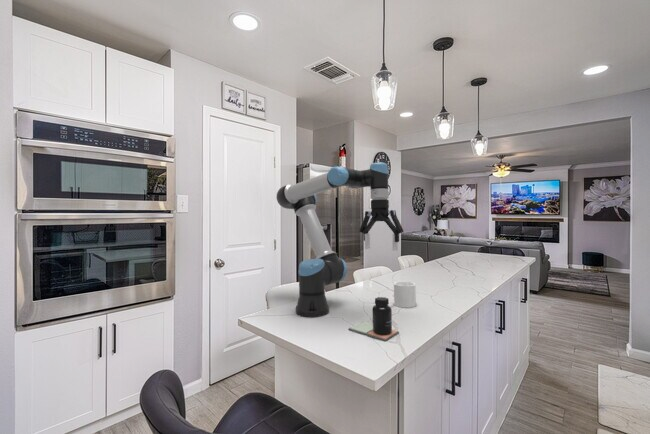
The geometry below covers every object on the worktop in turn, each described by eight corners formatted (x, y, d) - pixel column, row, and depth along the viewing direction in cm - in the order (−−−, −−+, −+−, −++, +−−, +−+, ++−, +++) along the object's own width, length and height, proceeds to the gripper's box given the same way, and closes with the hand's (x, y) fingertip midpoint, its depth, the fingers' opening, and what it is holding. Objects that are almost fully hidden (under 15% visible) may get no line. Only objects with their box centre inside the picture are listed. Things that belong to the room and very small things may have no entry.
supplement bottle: (392, 336, 101) (391, 301, 102) (372, 335, 103) (371, 300, 103) (391, 329, 108) (391, 296, 108) (373, 328, 110) (372, 295, 110)
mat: (348, 330, 110) (348, 328, 110) (363, 323, 117) (362, 321, 117) (385, 341, 99) (385, 339, 99) (399, 333, 106) (399, 330, 106)
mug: (411, 309, 133) (410, 287, 134) (390, 306, 140) (390, 284, 140) (420, 303, 143) (420, 282, 144) (401, 300, 150) (400, 279, 150)
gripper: (351, 200, 130) (352, 248, 130) (402, 197, 113) (403, 251, 113) (360, 201, 136) (361, 247, 135) (411, 197, 119) (412, 250, 119)
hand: (380, 249), depth 124 cm, fingers open, 13 cm apart
